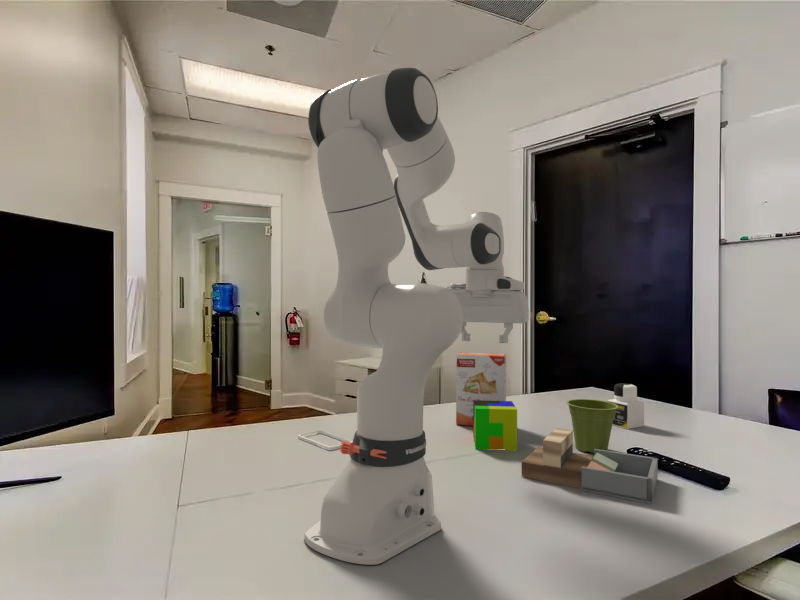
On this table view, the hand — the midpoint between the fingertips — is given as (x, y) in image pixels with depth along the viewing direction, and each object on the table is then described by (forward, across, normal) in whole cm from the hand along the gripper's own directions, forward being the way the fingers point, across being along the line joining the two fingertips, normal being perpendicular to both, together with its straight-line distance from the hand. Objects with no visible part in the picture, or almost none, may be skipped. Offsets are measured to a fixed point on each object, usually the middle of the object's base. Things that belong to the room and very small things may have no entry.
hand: (484, 342), depth 114 cm
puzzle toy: (+27, -2, +10) cm, 29 cm away
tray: (+26, +30, -2) cm, 40 cm away
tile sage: (+25, +26, +1) cm, 36 cm away
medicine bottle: (+26, +24, +49) cm, 60 cm away
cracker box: (+27, -12, +26) cm, 39 cm away
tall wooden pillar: (+24, +18, -3) cm, 30 cm away
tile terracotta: (+25, +26, -6) cm, 37 cm away
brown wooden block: (+27, +18, -3) cm, 32 cm away
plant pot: (+27, +20, +18) cm, 38 cm away
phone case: (+27, -39, -12) cm, 49 cm away
